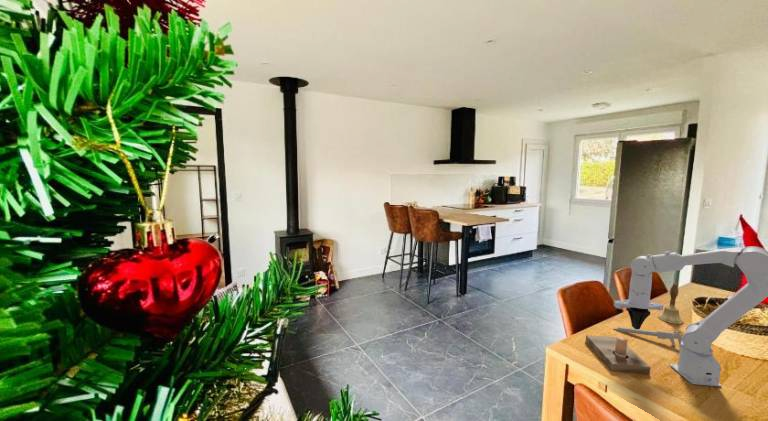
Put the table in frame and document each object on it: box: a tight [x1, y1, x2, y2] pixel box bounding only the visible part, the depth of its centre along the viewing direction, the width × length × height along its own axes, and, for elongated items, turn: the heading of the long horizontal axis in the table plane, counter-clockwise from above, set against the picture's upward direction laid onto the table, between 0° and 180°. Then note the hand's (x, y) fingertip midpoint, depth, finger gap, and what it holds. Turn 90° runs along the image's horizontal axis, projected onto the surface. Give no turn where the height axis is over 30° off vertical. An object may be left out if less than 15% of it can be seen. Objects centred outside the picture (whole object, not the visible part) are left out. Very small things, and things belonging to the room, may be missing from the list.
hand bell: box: [657, 283, 684, 325], centre depth 136 cm, size 8×8×16 cm
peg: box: [615, 336, 628, 358], centre depth 107 cm, size 3×3×8 cm
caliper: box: [613, 326, 683, 347], centre depth 122 cm, size 20×1×6 cm, turn 49°
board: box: [585, 334, 651, 375], centre depth 110 cm, size 18×11×2 cm, turn 171°
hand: (635, 327), depth 111 cm, fingers closed
